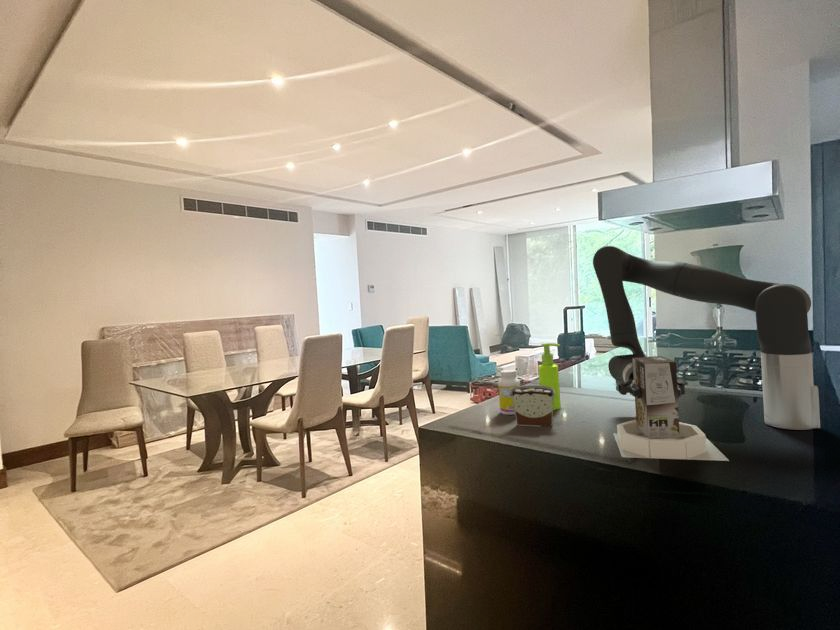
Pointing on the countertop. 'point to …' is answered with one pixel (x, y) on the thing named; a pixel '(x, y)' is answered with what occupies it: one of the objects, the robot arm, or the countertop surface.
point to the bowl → (662, 442)
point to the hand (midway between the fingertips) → (657, 393)
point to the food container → (533, 405)
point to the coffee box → (657, 397)
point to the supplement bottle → (507, 391)
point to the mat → (709, 455)
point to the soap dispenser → (550, 373)
